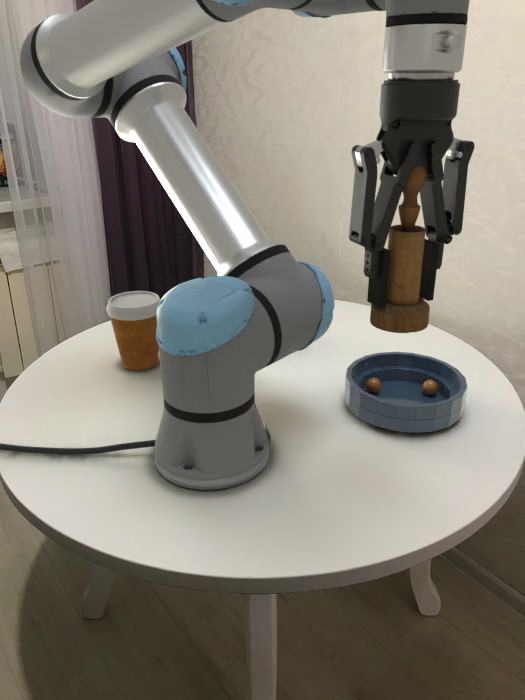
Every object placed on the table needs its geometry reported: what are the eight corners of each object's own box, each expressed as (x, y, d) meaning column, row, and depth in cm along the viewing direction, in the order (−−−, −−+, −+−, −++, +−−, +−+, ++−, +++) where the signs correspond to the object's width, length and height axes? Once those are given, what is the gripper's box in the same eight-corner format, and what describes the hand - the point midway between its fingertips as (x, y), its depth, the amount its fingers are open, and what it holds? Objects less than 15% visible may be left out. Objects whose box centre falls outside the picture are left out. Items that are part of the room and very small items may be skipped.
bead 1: (371, 396, 91) (372, 383, 90) (362, 390, 93) (363, 376, 92) (383, 393, 92) (385, 380, 91) (375, 387, 94) (376, 373, 93)
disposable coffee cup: (103, 362, 105) (94, 298, 100) (149, 346, 111) (143, 286, 106) (130, 380, 99) (122, 313, 94) (178, 363, 104) (173, 299, 99)
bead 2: (427, 399, 91) (429, 385, 90) (418, 392, 93) (419, 378, 92) (440, 396, 92) (442, 382, 91) (430, 389, 94) (432, 375, 92)
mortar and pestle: (408, 310, 72) (423, 156, 65) (439, 329, 67) (460, 164, 59) (360, 317, 70) (369, 160, 63) (387, 337, 65) (402, 167, 57)
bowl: (388, 449, 80) (391, 417, 78) (324, 392, 95) (325, 364, 92) (488, 420, 87) (493, 390, 84) (413, 370, 101) (416, 344, 99)
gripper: (357, 78, 51) (344, 324, 61) (523, 75, 57) (488, 299, 67) (318, 78, 57) (312, 301, 67) (471, 76, 64) (446, 280, 74)
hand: (400, 300), depth 67 cm, fingers closed on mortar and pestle, 6 cm apart
